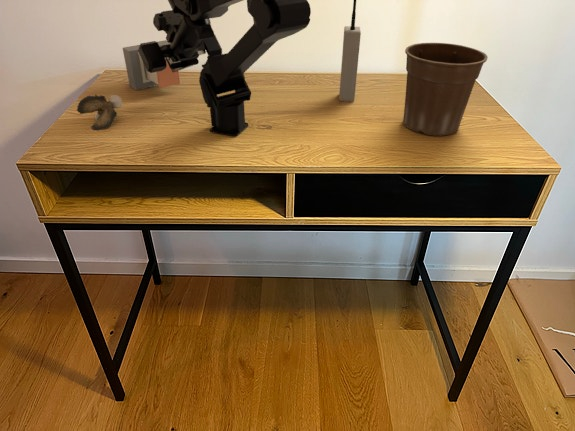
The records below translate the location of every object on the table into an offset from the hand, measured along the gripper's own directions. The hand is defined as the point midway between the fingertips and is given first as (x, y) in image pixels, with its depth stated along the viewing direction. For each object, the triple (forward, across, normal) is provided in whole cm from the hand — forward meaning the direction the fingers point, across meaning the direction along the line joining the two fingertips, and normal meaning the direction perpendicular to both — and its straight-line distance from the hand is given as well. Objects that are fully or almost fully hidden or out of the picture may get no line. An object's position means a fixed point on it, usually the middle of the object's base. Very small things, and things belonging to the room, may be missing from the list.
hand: (173, 70), depth 112 cm
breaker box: (+14, 0, -4) cm, 14 cm away
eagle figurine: (+2, +20, +8) cm, 22 cm away
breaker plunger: (+9, 0, -2) cm, 9 cm away
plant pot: (-31, -37, +40) cm, 63 cm away
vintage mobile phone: (-14, -34, +24) cm, 44 cm away
